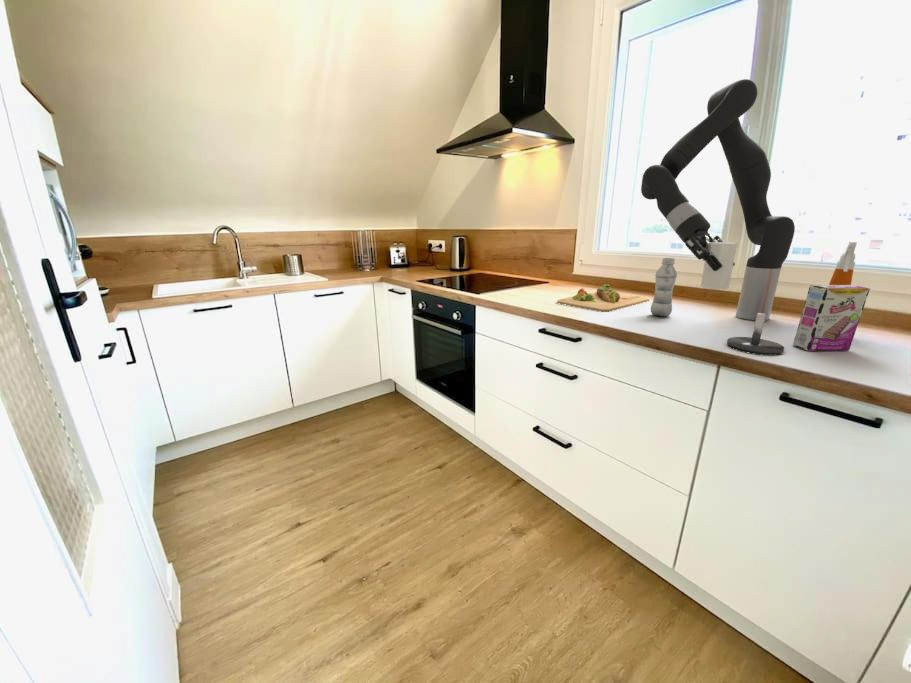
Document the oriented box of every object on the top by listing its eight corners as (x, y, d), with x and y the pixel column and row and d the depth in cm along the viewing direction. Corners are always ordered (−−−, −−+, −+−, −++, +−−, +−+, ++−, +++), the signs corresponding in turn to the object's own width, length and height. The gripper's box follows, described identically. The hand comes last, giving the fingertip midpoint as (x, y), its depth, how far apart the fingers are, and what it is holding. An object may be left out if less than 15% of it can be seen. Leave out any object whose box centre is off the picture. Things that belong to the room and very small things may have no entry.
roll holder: (738, 338, 109) (745, 306, 106) (791, 349, 99) (800, 315, 96) (717, 345, 103) (724, 312, 100) (771, 358, 93) (780, 321, 90)
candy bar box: (808, 352, 97) (826, 288, 92) (791, 346, 102) (808, 284, 97) (851, 351, 97) (871, 287, 93) (832, 345, 102) (850, 284, 97)
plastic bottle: (673, 318, 132) (683, 259, 126) (652, 317, 133) (661, 259, 127) (667, 314, 138) (676, 257, 132) (647, 313, 139) (655, 257, 133)
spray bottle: (809, 336, 110) (835, 242, 102) (810, 328, 118) (834, 240, 110) (843, 341, 106) (873, 242, 98) (842, 333, 113) (869, 241, 105)
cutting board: (605, 314, 142) (607, 294, 139) (554, 304, 159) (555, 286, 157) (651, 302, 162) (653, 284, 160) (601, 294, 180) (603, 278, 178)
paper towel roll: (708, 285, 110) (716, 242, 106) (731, 287, 105) (740, 242, 101) (697, 287, 107) (704, 242, 103) (720, 290, 102) (729, 243, 99)
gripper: (684, 212, 103) (724, 260, 96) (712, 212, 110) (751, 257, 104) (662, 232, 109) (698, 279, 102) (690, 231, 116) (726, 274, 109)
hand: (725, 267), depth 103 cm, fingers closed on paper towel roll, 6 cm apart
